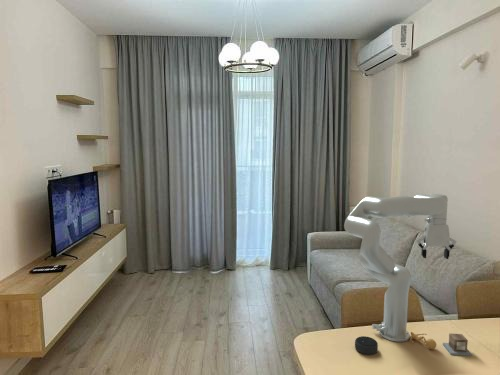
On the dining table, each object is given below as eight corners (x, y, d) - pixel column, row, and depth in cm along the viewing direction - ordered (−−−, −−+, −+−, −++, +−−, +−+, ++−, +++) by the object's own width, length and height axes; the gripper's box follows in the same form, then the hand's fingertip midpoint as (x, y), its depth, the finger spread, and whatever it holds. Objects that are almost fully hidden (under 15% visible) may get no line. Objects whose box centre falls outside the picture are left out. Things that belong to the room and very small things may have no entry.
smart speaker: (350, 347, 154) (350, 337, 154) (367, 342, 158) (367, 333, 157) (364, 357, 146) (365, 348, 146) (382, 353, 150) (382, 343, 149)
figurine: (428, 347, 149) (404, 329, 159) (427, 359, 151) (403, 340, 161) (442, 339, 152) (418, 321, 162) (441, 350, 154) (417, 332, 164)
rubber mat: (450, 354, 148) (450, 352, 148) (442, 344, 156) (442, 342, 156) (471, 356, 148) (471, 354, 147) (462, 345, 155) (462, 343, 155)
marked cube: (454, 351, 149) (454, 339, 149) (448, 344, 155) (449, 333, 154) (467, 352, 149) (467, 340, 148) (461, 345, 154) (461, 334, 154)
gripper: (420, 222, 166) (418, 259, 168) (460, 223, 165) (458, 261, 166) (414, 219, 174) (412, 255, 175) (453, 220, 172) (451, 256, 174)
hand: (435, 257), depth 171 cm, fingers open, 9 cm apart
